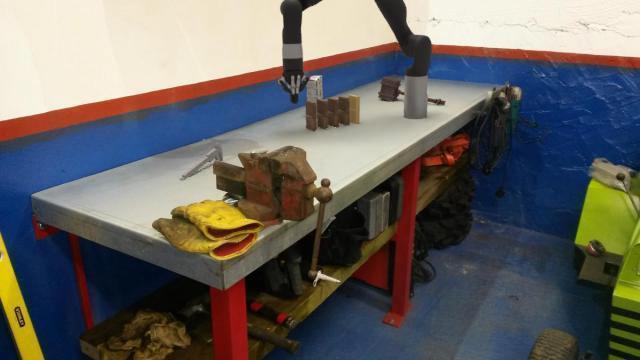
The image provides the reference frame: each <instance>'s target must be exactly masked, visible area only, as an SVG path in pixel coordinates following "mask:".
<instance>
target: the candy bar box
mask: <svg viewBox="0 0 640 360" xmlns="http://www.w3.org/2000/svg"><path fill="white" fill-rule="evenodd" d="M309 78H310V79H309V81H308V83H307V84H306V86H305V89H306V101H308V100H310V101H313V102H316V108H317V99H323V100H324V95H323V75H311V76H309Z"/></svg>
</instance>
